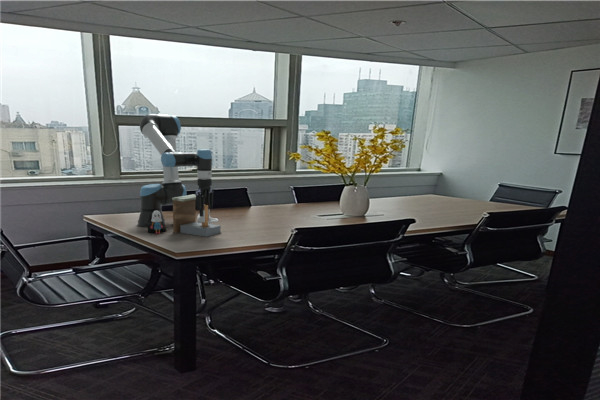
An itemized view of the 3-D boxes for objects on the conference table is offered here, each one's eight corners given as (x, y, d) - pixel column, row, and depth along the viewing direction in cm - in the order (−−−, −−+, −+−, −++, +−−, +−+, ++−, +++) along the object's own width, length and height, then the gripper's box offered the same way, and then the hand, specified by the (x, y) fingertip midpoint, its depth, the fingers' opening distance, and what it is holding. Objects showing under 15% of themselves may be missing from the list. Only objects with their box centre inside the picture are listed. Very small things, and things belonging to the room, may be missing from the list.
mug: (197, 229, 250) (197, 215, 249) (196, 225, 260) (196, 212, 258) (219, 228, 253) (219, 214, 252) (217, 224, 263) (217, 211, 262)
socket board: (180, 232, 240) (180, 225, 240) (194, 228, 251) (194, 221, 250) (206, 236, 232) (206, 229, 232) (220, 232, 243) (220, 225, 242)
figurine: (148, 235, 233) (148, 212, 231) (146, 230, 243) (146, 209, 241) (167, 233, 237) (167, 211, 235) (164, 229, 247) (164, 208, 245)
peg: (200, 230, 239) (200, 205, 237) (204, 229, 242) (204, 204, 240) (205, 231, 238) (205, 205, 235) (209, 230, 241) (209, 205, 239)
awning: (172, 232, 239) (172, 197, 236) (193, 227, 254) (193, 194, 251) (184, 234, 236) (183, 199, 233) (204, 228, 251) (204, 195, 248)
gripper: (200, 180, 227) (200, 224, 230) (219, 177, 241) (219, 219, 245) (188, 179, 230) (189, 223, 233) (208, 176, 245) (208, 218, 248)
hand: (204, 221), depth 239 cm, fingers closed on peg, 3 cm apart
